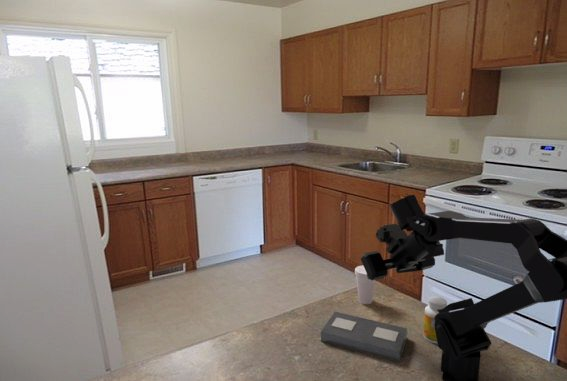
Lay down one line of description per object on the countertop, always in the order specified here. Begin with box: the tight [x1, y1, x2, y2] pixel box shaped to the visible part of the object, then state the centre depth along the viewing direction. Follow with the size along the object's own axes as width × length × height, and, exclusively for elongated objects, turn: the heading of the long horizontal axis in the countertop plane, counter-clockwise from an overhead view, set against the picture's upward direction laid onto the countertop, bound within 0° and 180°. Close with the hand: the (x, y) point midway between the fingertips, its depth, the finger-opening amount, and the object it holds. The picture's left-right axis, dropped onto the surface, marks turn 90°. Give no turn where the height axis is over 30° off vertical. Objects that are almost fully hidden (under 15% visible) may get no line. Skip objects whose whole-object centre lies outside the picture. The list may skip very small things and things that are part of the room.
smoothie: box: [354, 264, 377, 305], centre depth 106 cm, size 6×6×14 cm
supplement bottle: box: [422, 295, 448, 345], centre depth 89 cm, size 5×5×10 cm
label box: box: [320, 311, 408, 363], centre depth 89 cm, size 18×10×3 cm, turn 63°
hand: (382, 274), depth 98 cm, fingers open, 9 cm apart
